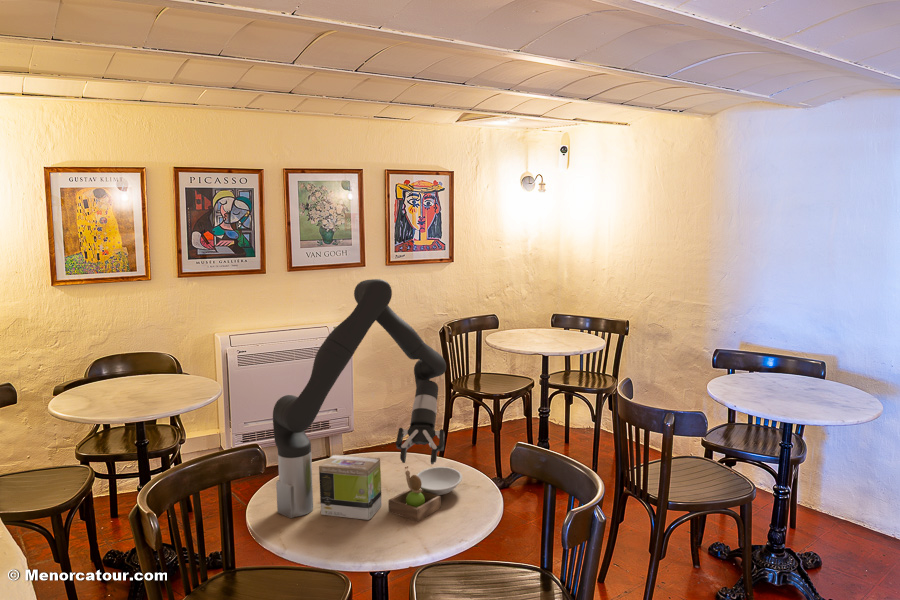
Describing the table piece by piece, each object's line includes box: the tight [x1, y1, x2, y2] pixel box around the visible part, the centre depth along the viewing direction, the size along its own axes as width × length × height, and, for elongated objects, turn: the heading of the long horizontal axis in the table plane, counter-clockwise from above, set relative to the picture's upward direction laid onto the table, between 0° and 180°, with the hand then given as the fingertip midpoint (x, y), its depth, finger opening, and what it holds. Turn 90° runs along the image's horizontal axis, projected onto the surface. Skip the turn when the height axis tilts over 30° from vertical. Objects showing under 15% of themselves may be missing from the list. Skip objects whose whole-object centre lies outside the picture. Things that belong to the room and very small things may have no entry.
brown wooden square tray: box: [388, 488, 442, 522], centre depth 182 cm, size 11×11×4 cm
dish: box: [416, 466, 463, 496], centre depth 192 cm, size 18×14×5 cm
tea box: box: [318, 454, 382, 521], centre depth 181 cm, size 15×10×15 cm, turn 74°
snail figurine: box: [404, 466, 425, 508], centre depth 181 cm, size 5×6×12 cm
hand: (417, 462), depth 185 cm, fingers open, 8 cm apart
